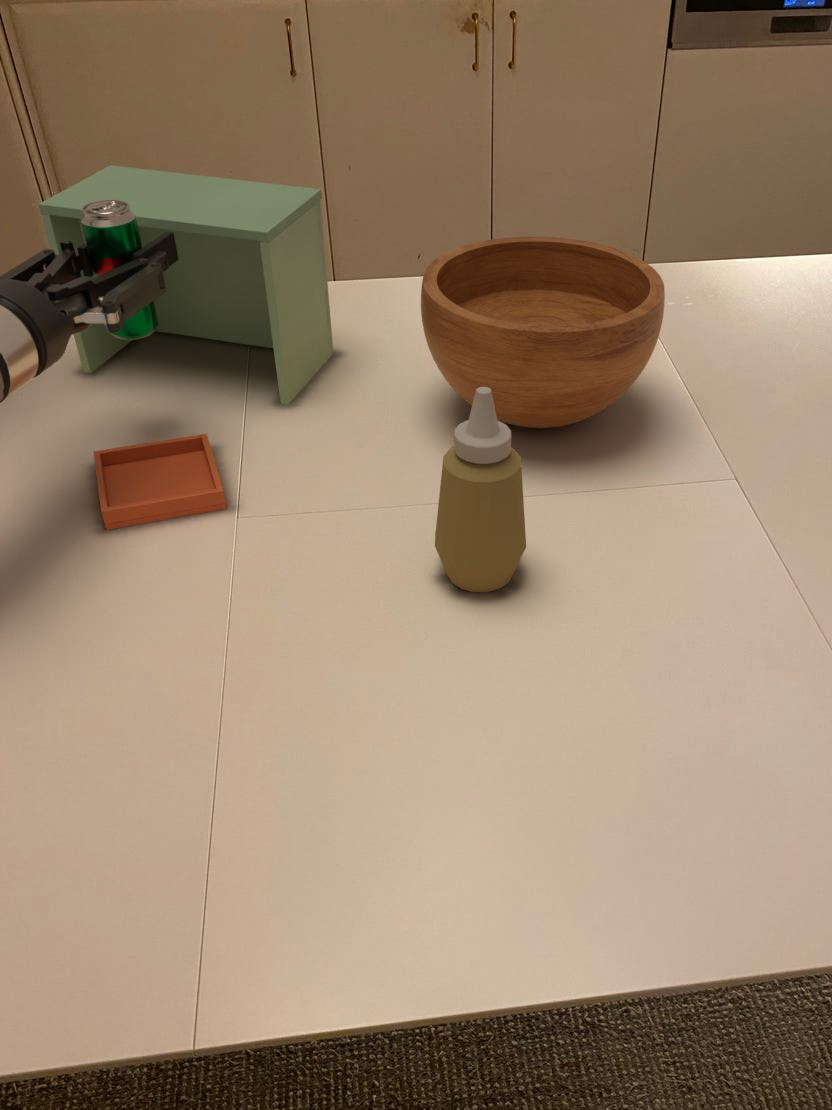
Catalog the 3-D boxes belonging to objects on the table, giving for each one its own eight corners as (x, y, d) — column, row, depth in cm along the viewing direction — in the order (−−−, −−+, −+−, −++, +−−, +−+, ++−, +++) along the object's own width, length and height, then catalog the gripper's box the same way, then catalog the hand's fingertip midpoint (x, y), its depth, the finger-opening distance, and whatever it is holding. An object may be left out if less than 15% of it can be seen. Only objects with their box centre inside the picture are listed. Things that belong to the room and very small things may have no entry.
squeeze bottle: (541, 567, 89) (555, 384, 77) (493, 614, 84) (499, 426, 72) (467, 537, 92) (469, 357, 80) (416, 580, 87) (410, 396, 75)
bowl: (566, 501, 97) (579, 358, 87) (376, 421, 108) (368, 286, 98) (688, 405, 112) (710, 273, 102) (510, 343, 123) (515, 219, 113)
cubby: (288, 405, 111) (267, 232, 98) (83, 372, 115) (37, 204, 103) (335, 351, 121) (321, 188, 108) (144, 323, 126) (110, 165, 113)
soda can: (169, 331, 99) (144, 207, 91) (123, 347, 96) (93, 220, 88) (143, 316, 101) (116, 194, 93) (98, 330, 99) (66, 206, 91)
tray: (98, 469, 100) (93, 451, 99) (209, 451, 103) (206, 433, 102) (106, 530, 92) (101, 511, 91) (226, 508, 95) (223, 490, 94)
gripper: (-77, 367, 85) (75, 268, 102) (109, 397, 82) (235, 290, 99) (-110, 281, 80) (56, 193, 97) (87, 309, 77) (223, 213, 94)
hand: (146, 242), depth 98 cm, fingers closed on soda can, 5 cm apart
